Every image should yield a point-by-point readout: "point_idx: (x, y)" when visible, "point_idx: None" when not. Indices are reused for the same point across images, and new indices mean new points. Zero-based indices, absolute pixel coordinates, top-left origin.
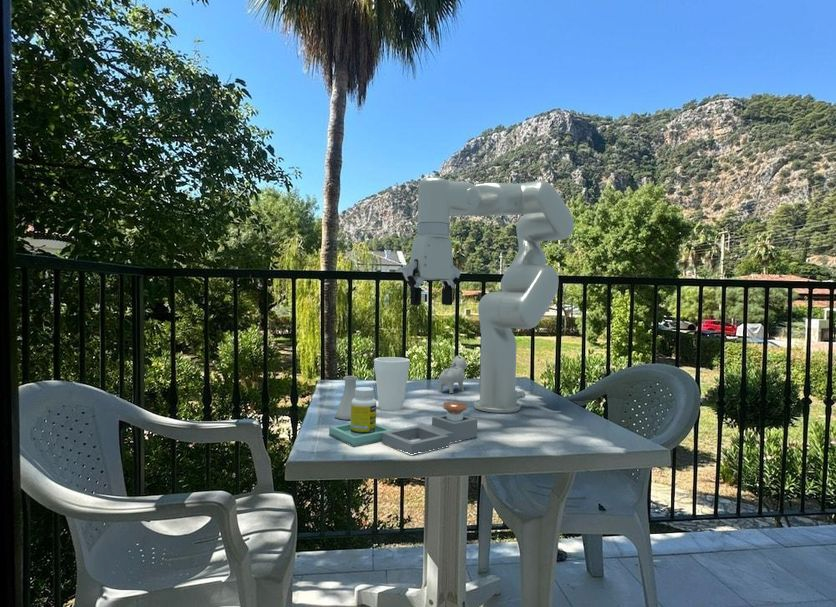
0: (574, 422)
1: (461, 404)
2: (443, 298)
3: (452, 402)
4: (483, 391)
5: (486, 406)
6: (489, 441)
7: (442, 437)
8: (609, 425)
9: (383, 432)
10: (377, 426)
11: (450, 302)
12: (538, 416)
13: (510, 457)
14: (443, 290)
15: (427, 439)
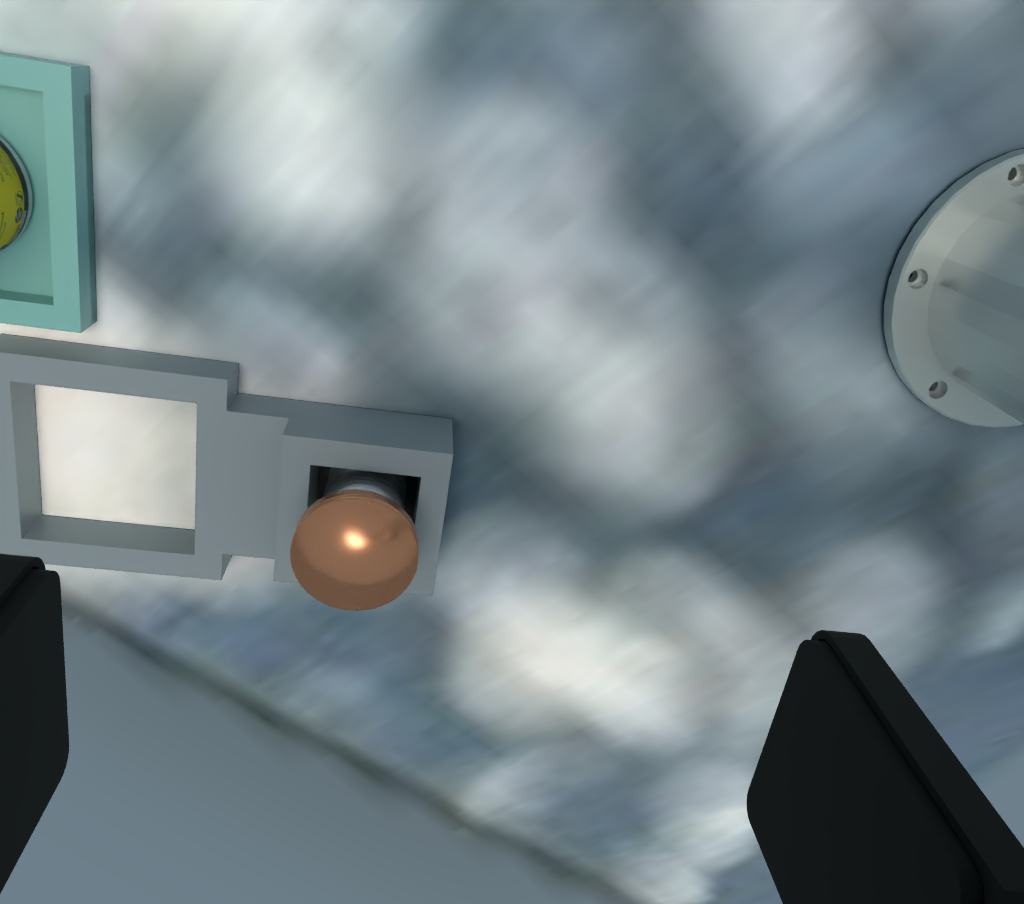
0: (949, 674)
1: (369, 586)
2: (834, 750)
3: (368, 530)
4: (992, 284)
5: (924, 297)
6: (428, 610)
7: (181, 575)
8: (984, 770)
9: None
10: (50, 209)
11: (771, 836)
12: (963, 530)
13: (327, 750)
14: (922, 893)
15: (103, 555)
